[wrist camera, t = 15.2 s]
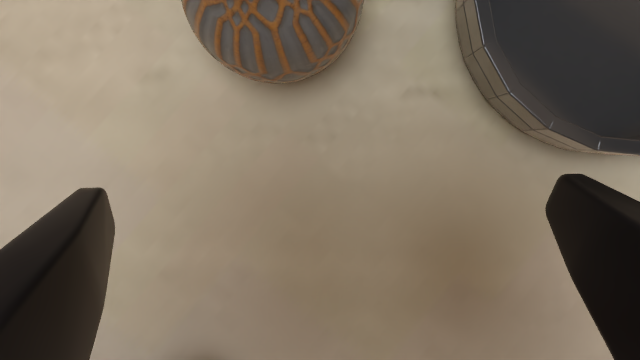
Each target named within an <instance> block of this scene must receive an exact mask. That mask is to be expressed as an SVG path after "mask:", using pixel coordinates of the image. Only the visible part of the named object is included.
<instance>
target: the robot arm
mask: <svg viewBox="0 0 640 360" xmlns="http://www.w3.org/2000/svg"><path fill="white" fill-rule="evenodd" d="M546 216H547V219H548V221H549V224H550V226H551V229H552V231H553V234H554V236H555V239H556V241H557V244H558V246H559V249H560V251H561V254H562V256H563V259H564V261H565V264H566V266H567V269H568V271H569V273H570V276H571V278H572V280H573V282H574V284H575V286H576V288H577V290H578V292H579V294H580V296H581V297H582V299H583V301H584V303H585V305H586V307H587V309H588V311H589V313H590V315H591V316H592V318H593V320H594V322H595V324H596V326H597V328H598V330H599V332H600V333H601V335H602V337H603V339H604V341H605V343H606V345H607V347H608V349H609V351H610V352H611V354H612V356H613V358H614V360H640V202H639V201H637V200H635V199H633V198H631V197H628V196H626V195H624V194H622V193H620V192H618V191H616V190H614V189H612V188H610V187H608V186H606V185H604V184H602V183H600V182H598V181H596V180H594V179H591V178H589V177H587V176H585V175H583V174H564V175H562V176H560V177H559V178H558V180H557V182H556V184H555V186H554V188H553V190H552V193H551V195H550V197H549V199H548V201H547V204H546ZM114 235H115V224H114V219H113V215H112V211H111V207H110V204H109V200H108V196H107V193H106V191H105V190H104V189H103V188H81V189H78V190H77V191H75V192H74V193H73V194H72V195H70V196H69V197H68V198H66V199H65V200H64V201H62V202H61V203H60V204H59V205H57V206H56V207H55V208H53V209H52V210H51V211H50V212H48V213H47V214H46V215H44V216H43V217H42V218H40V219H39V220H38V221H37V222H35V223H34V224H33V225H31V226H30V227H29V228H27V229H26V230H25V231H24V232H22V233H21V234H20V235H18V236H17V237H16V238H15V239H13V240H12V241H11V242H9V243H8V244H7V245H5V246H4V247H3V248H2V249H0V360H89V359H90V355H91V351H92V348H93V344H94V341H95V337H96V334H97V330H98V326H99V323H100V319H101V315H102V311H103V307H104V302H105V296H106V290H107V283H108V276H109V269H110V262H111V255H112V249H113V242H114Z"/></svg>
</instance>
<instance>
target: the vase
mask: <svg viewBox="0 0 640 360" xmlns="http://www.w3.org/2000/svg"><path fill="white" fill-rule="evenodd" d="M181 1H182V5H183V9H184V11H185V14H186V17H187V20H188V22H189V24H190V26H191V28H192V30H193V32H194V33H195V35H196V37H197V38H198V40H199V41H200V43H201V44H202V45H203V47H204V48H205V49H206V50H207V51H208V52H209V53H210V54H211V55H212V56H213V57H214V58H215V59H216V60H218V61H219V62H220V63H221V64H223V65H224V66H225V67H227V68H229V69H230V70H232V71H234V72H236V73H238V74H240V75H242V76H244V77H247V78H249V79H253V80H256V81H261V82H267V83H289V82H295V81H299V80H302V79H305V78H308V77H310V76H313V75H315V74H317V73H318V72H320V71H322V70H323V69H325V68H326V67H327V66H329V65H330V64H331V63H332V62H333V61H335V60H336V59H337V58H338V56H339V55H340V54H341V53H342V52H343V51H344V49H345V48H346V46H347V45H348V43H349V42H350V40H351V38H352V36H353V34H354V32H355V30H356V28H357V25H358V23H359V19H360V16H361V12H362V8H363V2H364V0H181Z"/></svg>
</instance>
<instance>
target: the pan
mask: <svg viewBox="0 0 640 360" xmlns="http://www.w3.org/2000/svg"><path fill="white" fill-rule="evenodd" d="M455 8H456V27H457V33H458V39H459V44H460V48H461V51H462V54H463V57H464V60H465V63H466V66H467V68H468V70H469V72H470V74H471V76H472V78H473V80H474V82H475V84H476V85H477V87H478V88H479V90H480V91H481V93H482V94H483V96H484V97H485V98H486V99H487V101H488V102H489V103H490V104H491V105H492V106H493V108H494V109H495V110H496V111H497V112H498V113H499V114H500V115H502V116H503V117H504V118H505V119H506V120H507V121H508V122H509V123H511V124H512V125H514V126H515V127H517V128H518V129H519V130H521V131H522V132H524V133H526V134H528V135H530V136H532V137H534V138H536V139H538V140H540V141H542V142H545V143H548V144H551V145H554V146H556V147H558V148H561V149H564V150H571V151H579V152H590V153H600V154H610V155H632V156H640V0H456V5H455Z"/></svg>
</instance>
